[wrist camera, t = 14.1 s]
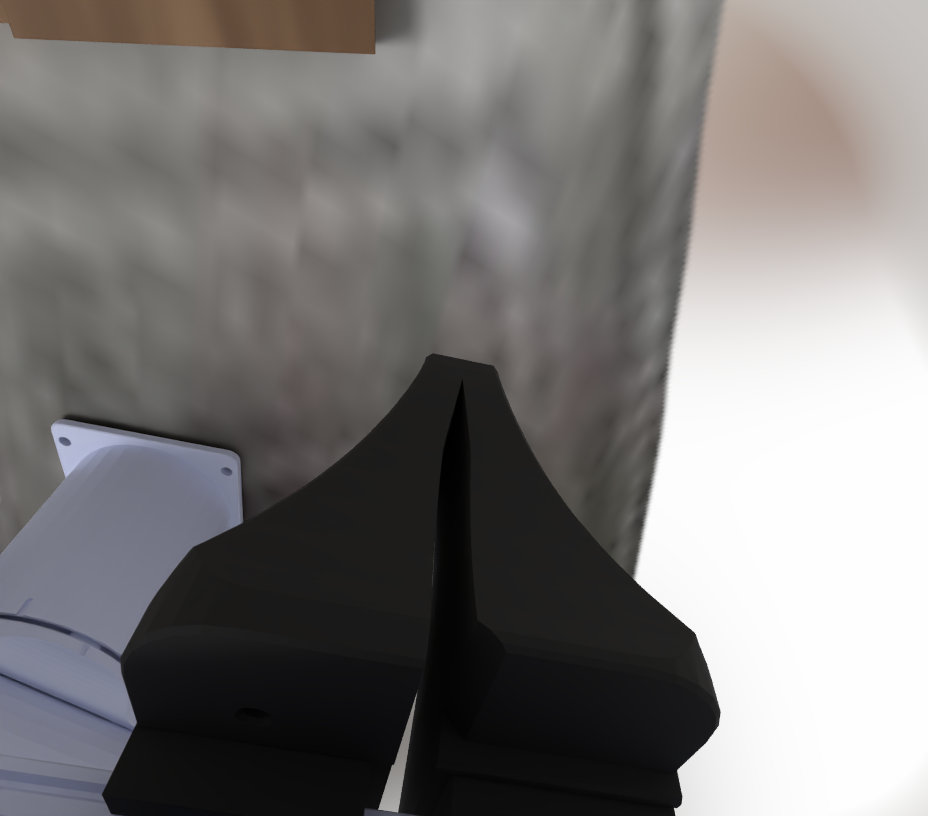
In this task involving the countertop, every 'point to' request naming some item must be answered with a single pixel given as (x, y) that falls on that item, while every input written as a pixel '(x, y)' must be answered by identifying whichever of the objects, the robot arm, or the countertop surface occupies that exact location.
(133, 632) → the robot arm
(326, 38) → the domino
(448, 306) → the countertop surface
